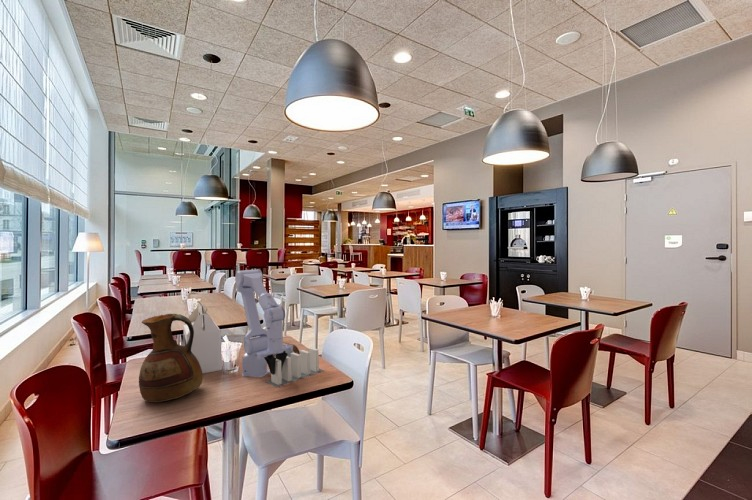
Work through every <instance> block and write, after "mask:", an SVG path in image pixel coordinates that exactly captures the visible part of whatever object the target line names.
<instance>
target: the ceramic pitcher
mask: <svg viewBox="0 0 752 500" xmlns="http://www.w3.org/2000/svg"><path fill="white" fill-rule="evenodd" d="M188 318H189V317H187V316H185V315H182V314H178V313H165V314H159V315H154V316H152V317H148V318H146V319H143V320H142V321H141V324H143V325H144V326H146V327H147V328H148V329H149V331H150V337H151V339H152V341H153V345H152V350H151V351H150V352H149V353H148V354H147V355H146V357H145V358H144V360H143V363H142V365H141V367H140V370H139V376H138V387H139V388H138V389H139V391H140V392H139V393H140V396H141V397H142V399H143V400H144V401H145V402H150V403H160V402H166V401H170V400H175V399H177V398H178V399H179V398H181V397H183V396H185V395H187V394H189V393H191V392H194V391H195V390H197V389H198V388H199V387H201V386H202V383H203V381H204V380H203V379H204V378H203V377H204V376H203V374H204V373H203V374H202V369H201V366H200V364H199V361H198V360H197V358H196V357H195V355H194V354H193V353H192V352H191V347H192V342H193V336H194V329H193V326H192V323H191V321H190V320H189V319H188ZM175 321H179V322H183V323H184V324H185V323H186V324H187V326H188V328H189V331H190V337H189V340H188V343H187V344H186V345H185V346H184V345H182V344H181V345H180V344H178V343H177V342H176V341H175V339H174V337H173V333H172V332H173V331H172V324H173V322H175Z"/></svg>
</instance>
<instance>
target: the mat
mask: <svg viewBox="0 0 752 500" xmlns="http://www.w3.org/2000/svg"><path fill="white" fill-rule="evenodd" d="M324 371H325V370H324V369H321V368H319V371H317V372H315V371H313V370H310V374H308V375H306V374H304V373H301V377H300V378H297V377H294V376H292V380H291V381H286V380H284V379H282V384H280V385H277V384H275V383H273V382H271V379H270V380H267V381H265V383H266V384H268V385H269V386H270V385H271V386H272V387H274V388H279V387H282V386H284V385H287V384H290V383H293V382H296V381H298V380H302V379H305V378H307V377H310V376H314V375H316V374H318V373H322V372H324Z"/></svg>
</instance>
